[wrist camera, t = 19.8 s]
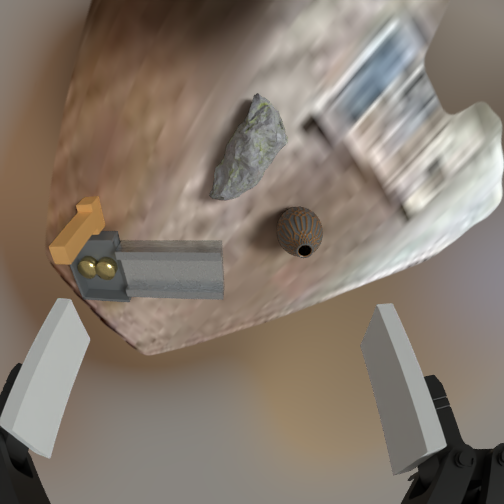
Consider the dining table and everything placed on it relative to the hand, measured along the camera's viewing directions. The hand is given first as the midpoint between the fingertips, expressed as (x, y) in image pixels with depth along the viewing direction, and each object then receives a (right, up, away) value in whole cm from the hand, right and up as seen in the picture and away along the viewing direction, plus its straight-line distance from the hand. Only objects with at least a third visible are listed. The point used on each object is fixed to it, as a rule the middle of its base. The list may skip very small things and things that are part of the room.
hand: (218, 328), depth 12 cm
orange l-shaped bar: (-25, +10, +35) cm, 44 cm away
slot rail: (-13, +1, +41) cm, 43 cm away
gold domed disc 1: (-30, +1, +41) cm, 50 cm away
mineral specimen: (+1, +19, +30) cm, 35 cm away
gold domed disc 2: (-26, +1, +41) cm, 48 cm away
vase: (+9, +8, +37) cm, 39 cm away
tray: (-27, +1, +41) cm, 49 cm away
